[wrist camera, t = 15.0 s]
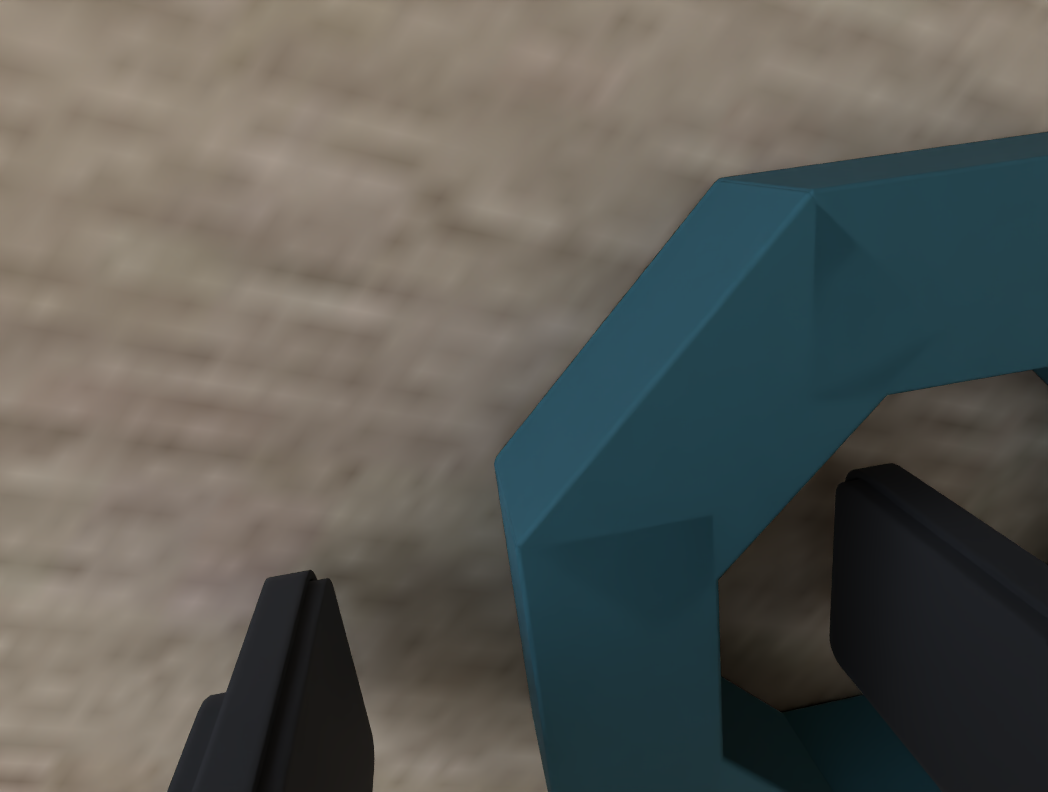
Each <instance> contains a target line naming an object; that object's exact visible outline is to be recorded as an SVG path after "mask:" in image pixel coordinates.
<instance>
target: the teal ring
mask: <svg viewBox="0 0 1048 792" xmlns="http://www.w3.org/2000/svg"><path fill="white" fill-rule="evenodd" d="M1028 370H1033V371H1034V372H1035V373H1036V374H1037V375H1038V376H1039V377H1040V378H1041V379H1042V380H1043V381H1044V382H1045V383H1046V384H1047V385H1048V132H1043V133H1036V134H1029V135H1022V136H1015V137H1008V138H1000V139H993V140H986V141H979V142H972V143H965V144H958V145H951V146H944V147H937V148H930V149H922V150H915V151H908V152H901V153H894V154H887V155H880V156H873V157H866V158H859V159H852V160H844V161H837V162H830V163H823V164H816V165H809V166H802V167H795V168H788V169H781V170H774V171H767V172H759V173H752V174H745V175H738V176H731V177H724V178H720V179H718V180H717V181H716V182H715V183H714V184H713V185H712V187H711V188H710V189H709V191H708V192H707V193H706V194H705V196H704V197H703V198H702V199H701V201H700V202H699V203H698V204H697V206H696V207H695V208H694V209H693V211H692V212H691V213H690V214H689V216H688V217H687V218H686V219H685V221H684V222H683V223H682V224H681V226H680V227H679V228H678V229H677V231H676V232H675V233H674V234H673V236H672V237H671V238H670V239H669V241H668V242H667V243H666V244H665V246H664V247H663V248H662V250H661V251H660V252H659V253H658V255H657V256H656V257H655V258H654V260H653V261H652V262H651V263H650V265H649V266H648V267H647V268H646V270H645V271H644V272H643V273H642V275H641V276H640V277H639V278H638V280H637V281H636V282H635V283H634V285H633V286H632V287H631V288H630V290H629V291H628V292H627V293H626V295H625V296H624V297H623V298H622V300H621V301H620V302H619V303H618V305H617V306H616V307H615V309H614V310H613V311H612V312H611V314H610V315H609V316H608V317H607V319H606V320H605V321H604V322H603V324H602V325H601V326H600V327H599V329H598V330H597V331H596V332H595V334H594V335H593V336H592V337H591V339H590V340H589V341H588V342H587V344H586V345H585V346H584V347H583V349H582V350H581V351H580V352H579V354H578V355H577V356H576V357H575V359H574V360H573V361H572V362H571V364H570V365H569V366H568V368H567V369H566V370H565V371H564V373H563V374H562V375H561V376H560V378H559V379H558V380H557V381H556V383H555V384H554V385H553V386H552V388H551V389H550V390H549V391H548V393H547V394H546V395H545V396H544V398H543V399H542V400H541V401H540V403H539V404H538V405H537V406H536V408H535V409H534V410H533V411H532V413H531V414H530V415H529V416H528V418H527V419H526V420H525V421H524V423H523V424H522V425H521V427H520V428H519V429H518V430H517V432H516V433H515V434H514V435H513V437H512V438H511V439H510V440H509V442H508V443H507V444H506V445H505V447H504V448H503V449H502V450H501V452H500V453H499V454H498V455H497V457H496V459H495V463H494V466H495V472H496V479H497V485H498V492H499V499H500V505H501V512H502V518H503V525H504V531H505V538H506V544H507V551H508V557H509V564H510V570H511V577H512V583H513V590H514V597H515V603H516V610H517V616H518V623H519V629H520V636H521V642H522V649H523V655H524V662H525V668H526V675H527V681H528V688H529V695H530V701H531V708H532V714H533V720H534V725H535V730H536V735H537V740H538V745H539V750H540V755H541V760H542V764H543V769H544V774H545V779H546V784H547V789H548V792H942V791H941V790H940V789H939V787H938V786H937V785H936V784H935V782H934V781H933V780H932V779H931V777H930V776H929V775H928V774H927V773H926V771H925V770H924V769H923V768H922V766H921V765H920V764H919V763H918V761H917V760H916V759H915V758H914V756H913V755H912V754H911V753H910V752H909V750H908V749H907V748H906V747H905V745H904V744H903V743H902V742H901V740H900V739H899V738H898V737H897V735H896V734H895V733H894V732H893V731H892V729H891V728H890V727H889V726H888V724H887V723H886V722H885V721H884V719H883V718H882V717H881V716H880V714H879V713H878V712H877V711H876V710H875V708H874V707H873V706H872V705H871V703H870V702H869V701H868V700H867V698H866V697H865V696H864V695H861V696H856V697H852V698H847V699H842V700H838V701H833V702H829V703H824V704H819V705H815V706H810V707H805V708H801V709H796V710H791V711H787V712H782V713H781V712H780V711H778V710H776V709H775V708H773V707H771V706H770V705H768V704H766V703H764V702H763V701H761V700H759V699H758V698H756V697H754V696H753V695H751V694H749V693H748V692H746V691H744V690H743V689H741V688H739V687H738V686H736V685H734V684H733V683H731V682H729V681H728V680H726V679H724V678H723V677H721V663H720V626H719V590H718V579H719V578H720V577H721V576H722V575H723V574H724V573H725V572H726V571H727V570H728V569H729V567H730V566H731V565H732V564H733V563H734V562H735V561H736V560H737V559H738V558H739V557H740V555H741V554H742V553H743V552H744V551H745V550H746V549H747V548H748V547H749V546H750V544H751V543H752V542H753V541H754V540H755V539H756V538H757V537H758V536H759V535H760V534H761V532H762V531H763V530H764V529H765V528H766V527H767V526H768V525H769V524H770V523H771V522H772V520H773V519H774V518H775V517H776V516H777V515H778V514H779V513H780V512H781V511H782V510H783V508H784V507H785V506H786V505H787V504H788V503H789V502H790V501H791V500H792V499H793V497H794V496H795V495H796V494H797V493H798V492H799V491H800V490H801V489H802V488H803V487H804V485H805V484H806V483H807V482H808V481H809V480H810V479H811V478H812V477H813V476H814V475H815V473H816V472H817V471H818V470H819V469H820V468H821V467H822V466H823V465H824V464H825V463H826V461H827V460H828V459H829V458H830V457H831V456H832V455H833V454H834V453H835V452H836V451H837V449H838V448H839V447H840V446H841V445H842V444H843V443H844V442H845V441H846V440H847V438H848V437H849V436H850V435H851V434H852V433H853V432H854V431H855V430H856V429H857V428H858V426H859V425H860V424H861V423H862V422H863V421H864V420H865V419H866V418H867V417H868V416H869V414H870V413H871V412H872V411H873V410H874V409H875V408H876V407H877V406H878V405H879V404H880V402H881V401H882V400H883V399H884V398H885V397H886V396H887V395H890V394H896V393H902V392H907V391H913V390H919V389H925V388H930V387H936V386H942V385H948V384H953V383H959V382H965V381H970V380H976V379H982V378H988V377H993V376H999V375H1005V374H1010V373H1016V372H1022V371H1028Z"/></svg>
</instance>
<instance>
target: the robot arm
mask: <svg viewBox="0 0 1048 792" xmlns="http://www.w3.org/2000/svg"><path fill="white" fill-rule="evenodd" d="M829 636H830V644H831V649H832V651H833V654H834V656H835V658H836V660H837V662H838V663H839V665H840V666H841V668H842V669H843V670H844V671H845V672H846V674H847V675H848V676H849V677H850V679H851V680H852V681H853V682H854V684H855V685H856V686H857V687H858V689H859V690H860V691H861V692H862V693H863V695H864V696H865V697H866V698H867V700H868V701H869V702H870V703H871V705H872V706H873V707H874V708H875V710H876V711H877V712H878V713H879V714H880V716H881V717H882V718H883V719H884V721H885V722H886V723H887V724H888V726H889V727H890V728H891V729H892V731H893V732H894V733H895V734H896V735H897V737H898V738H899V739H900V740H901V742H902V743H903V744H904V745H905V747H906V748H907V749H908V750H909V752H910V753H911V754H912V755H913V756H914V758H915V759H916V760H917V761H918V763H919V764H920V765H921V766H922V768H923V769H924V770H925V771H926V773H927V774H928V775H929V776H930V777H931V779H932V780H933V781H934V782H935V784H936V785H937V786H938V787H939V789H940V790H941V791H942V792H1048V565H1047V564H1045V563H1044V562H1042V561H1041V560H1039V559H1038V558H1036V557H1035V556H1033V555H1032V554H1030V553H1029V552H1027V551H1026V550H1024V549H1023V548H1021V547H1020V546H1018V545H1017V544H1015V543H1014V542H1012V541H1011V540H1010V539H1008V538H1007V537H1005V536H1004V535H1002V534H1001V533H999V532H998V531H996V530H995V529H993V528H992V527H990V526H989V525H987V524H986V523H984V522H983V521H981V520H980V519H978V518H977V517H975V516H974V515H972V514H971V513H969V512H968V511H966V510H965V509H963V508H962V507H960V506H959V505H957V504H956V503H954V502H953V501H951V500H950V499H948V498H947V497H945V496H944V495H942V494H941V493H939V492H938V491H936V490H935V489H933V488H932V487H930V486H929V485H927V484H926V483H924V482H923V481H921V480H920V479H918V478H917V477H915V476H914V475H912V474H911V473H909V472H908V471H906V470H905V469H903V468H902V467H900V466H898V465H896V464H894V463H888V464H882V465H877V466H871V467H866V468H861V469H855V470H852V471H850V472H849V473H848V474H847V476H846V478H845V482H842V483H840V484H839V485H838V487H837V489H836V494H835V517H834V541H833V564H832V588H831V611H830V635H829ZM373 775H374V744H373V737H372V732H371V728H370V724H369V720H368V716H367V713H366V709H365V705H364V701H363V697H362V694H361V690H360V686H359V682H358V678H357V675H356V671H355V667H354V663H353V659H352V656H351V652H350V648H349V644H348V640H347V637H346V633H345V629H344V625H343V621H342V618H341V614H340V610H339V606H338V602H337V599H336V595H335V591H334V587H333V584H332V582H331V580H330V579H329V578H326V579H320V580H317V578H316V575H315V574H314V572H313V571H312V570H308V571H302V572H297V573H291V574H286V575H280V576H275V577H270V578H267V579H266V581H265V583H264V585H263V588H262V591H261V594H260V597H259V599H258V602H257V605H256V608H255V611H254V614H253V617H252V619H251V622H250V625H249V628H248V631H247V634H246V637H245V640H244V642H243V645H242V648H241V651H240V654H239V657H238V660H237V663H236V665H235V668H234V671H233V674H232V677H231V680H230V683H229V686H228V688H227V691H226V692H225V693H220V694H215V695H210V696H209V697H208V698H207V699H205V700H204V701H203V703H202V705H201V707H200V709H199V711H198V713H197V716H196V718H195V721H194V724H193V726H192V729H191V731H190V734H189V737H188V739H187V742H186V744H185V747H184V749H183V752H182V755H181V757H180V760H179V762H178V765H177V768H176V770H175V773H174V775H173V778H172V781H171V783H170V786H169V788H168V791H167V792H372V789H373Z"/></svg>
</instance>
